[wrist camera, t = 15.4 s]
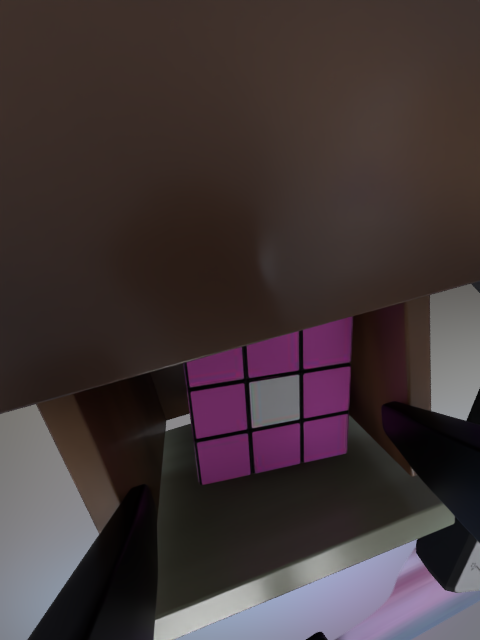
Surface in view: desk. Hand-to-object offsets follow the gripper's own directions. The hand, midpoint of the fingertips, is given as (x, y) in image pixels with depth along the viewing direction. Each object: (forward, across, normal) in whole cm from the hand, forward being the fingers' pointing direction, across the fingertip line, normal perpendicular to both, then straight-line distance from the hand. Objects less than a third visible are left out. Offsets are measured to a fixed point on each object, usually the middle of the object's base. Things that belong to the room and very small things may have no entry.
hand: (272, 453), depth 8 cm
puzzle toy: (+7, -1, -1) cm, 7 cm away
